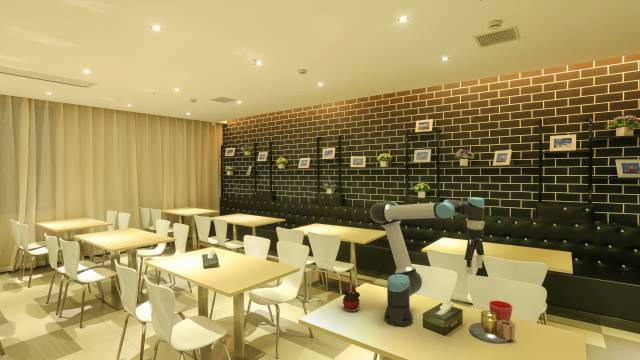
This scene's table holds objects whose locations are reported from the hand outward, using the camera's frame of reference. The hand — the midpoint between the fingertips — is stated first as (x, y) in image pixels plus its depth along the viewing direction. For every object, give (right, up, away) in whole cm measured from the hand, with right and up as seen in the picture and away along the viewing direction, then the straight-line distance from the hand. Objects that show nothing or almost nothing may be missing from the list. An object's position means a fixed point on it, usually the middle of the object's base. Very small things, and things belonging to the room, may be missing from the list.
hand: (474, 270), depth 166 cm
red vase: (-59, -30, +27) cm, 72 cm away
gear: (+11, -29, -9) cm, 32 cm away
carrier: (+6, -30, -4) cm, 31 cm away
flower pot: (+18, -30, +8) cm, 36 cm away
